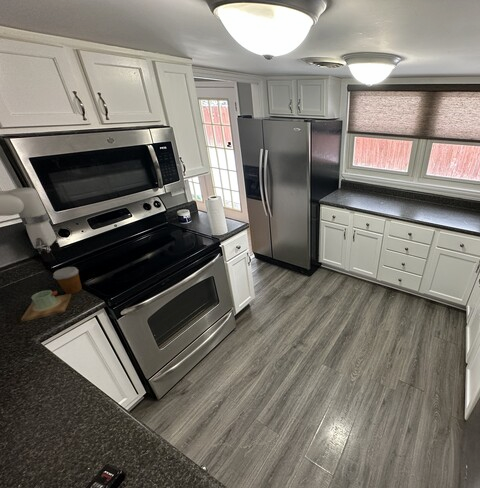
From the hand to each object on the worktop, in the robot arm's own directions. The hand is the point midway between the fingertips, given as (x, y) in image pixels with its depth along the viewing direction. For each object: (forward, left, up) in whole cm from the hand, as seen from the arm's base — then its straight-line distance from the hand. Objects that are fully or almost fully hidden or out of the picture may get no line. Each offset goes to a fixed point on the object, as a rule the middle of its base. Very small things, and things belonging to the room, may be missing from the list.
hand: (53, 255), depth 114 cm
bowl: (-11, +5, -26) cm, 29 cm away
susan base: (-12, +5, -28) cm, 31 cm away
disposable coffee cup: (-5, +17, -28) cm, 34 cm away
